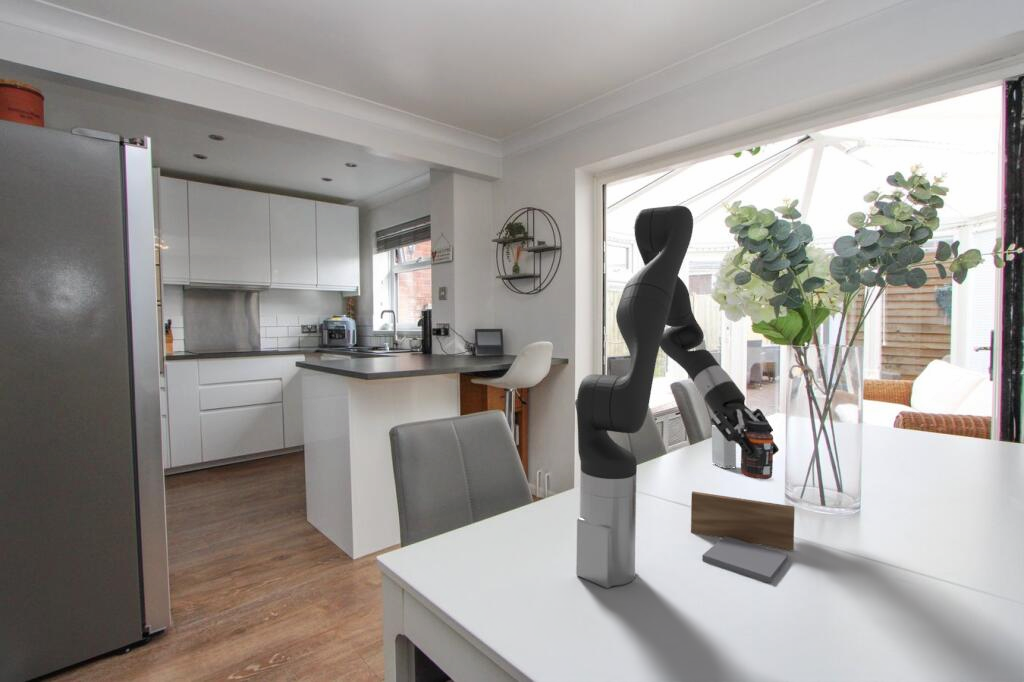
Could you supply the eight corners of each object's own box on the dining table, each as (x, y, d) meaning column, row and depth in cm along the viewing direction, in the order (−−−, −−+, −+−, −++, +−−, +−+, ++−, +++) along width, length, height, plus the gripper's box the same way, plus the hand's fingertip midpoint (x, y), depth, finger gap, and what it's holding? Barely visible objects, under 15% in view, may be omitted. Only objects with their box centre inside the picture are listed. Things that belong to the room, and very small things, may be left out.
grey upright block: (736, 468, 143) (737, 428, 142) (723, 469, 142) (724, 428, 142) (723, 463, 149) (724, 424, 148) (710, 464, 148) (711, 424, 148)
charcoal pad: (770, 583, 79) (770, 577, 78) (702, 560, 86) (702, 554, 86) (788, 559, 87) (788, 554, 87) (724, 540, 94) (725, 535, 94)
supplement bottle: (776, 481, 98) (778, 425, 98) (744, 478, 99) (746, 424, 99) (767, 472, 104) (768, 420, 104) (737, 470, 105) (738, 418, 105)
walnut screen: (793, 551, 90) (794, 508, 90) (690, 532, 98) (691, 493, 98) (792, 548, 91) (794, 506, 91) (691, 530, 99) (692, 491, 99)
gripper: (705, 380, 104) (753, 448, 94) (750, 378, 111) (799, 441, 101) (686, 401, 109) (729, 467, 99) (729, 398, 116) (774, 460, 106)
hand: (764, 454), depth 100 cm, fingers closed on supplement bottle, 6 cm apart
